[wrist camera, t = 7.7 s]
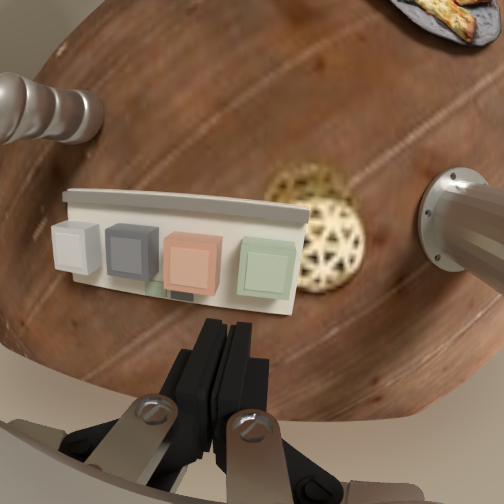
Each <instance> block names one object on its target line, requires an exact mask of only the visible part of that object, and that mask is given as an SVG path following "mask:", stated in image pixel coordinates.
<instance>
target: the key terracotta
mask: <svg viewBox="0 0 504 504" xmlns="http://www.w3.org/2000/svg"><path fill="white" fill-rule="evenodd" d="M222 241H223V236H216V235H206V234H197V233H188V232H178V231H173V232H172V233H170V234H169V235H168V236H166V237H165V238H164V239H163V282H164V289H168V290H174V291H181V292H187V293H194V294H201V295H208V296H215V293H216V291H217V289H218V286H219V284H220V270H221V255H222Z"/></svg>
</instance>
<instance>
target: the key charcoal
mask: <svg viewBox="0 0 504 504" xmlns="http://www.w3.org/2000/svg"><path fill="white" fill-rule="evenodd" d="M105 247H106V264H107V275H110V276H116V277H122V278H127V279H133V280H139V281H146V282H149V281H150V280H151V279H152V278H153V277H154V276H155V275H156V274H157V273H158V272H159V227H154V226H144V225H134V224H124V223H117V224H115V225H113V226H111V227H108V228H106V229H105Z"/></svg>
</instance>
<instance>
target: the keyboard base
mask: <svg viewBox="0 0 504 504" xmlns="http://www.w3.org/2000/svg"><path fill="white" fill-rule="evenodd" d="M63 202H68V221H78V222H89V223H99V229H100V251H101V265H102V266H101V267H100V268H98V269H97V270H95V271H94V272H92V273H91V274H90V275H88V276H87V275H82V274H77V273H73V281H75V282H80V283H85V284H89V285H94V286H99V287H104V288H109V289H114V290H119V291H125V292H130V293H136V294H141V295H147V296H153V297H158V298H164V299H171V300H177V301H183V302H190V303H196V304H203V305H210V306H218V307H225V308H233V309H241V310H249V311H257V312H266V313H275V314H285V315H292V309H293V304H294V298H295V292H296V287H297V281H298V275H299V269H300V262H301V256H302V250H303V243H304V236H305V230H306V223H307V224H308V219H309V212H310V211H309V210H308V207H307V206H301V205H293V204H285V203H276V202H268V201H259V200H249V199H240V198H230V197H219V196H208V195H196V194H183V193H169V192H154V191H136V190H115V189H86V188H71V189H68V191H64V192H63ZM117 223H124V224H134V225H144V226H154V227H159V272H158V273H157V274H156V275H155V276H154V277H153V278H152V279H151V280H150V281H149V282H146V281H139V280H133V279H127V278H122V277H116V276H110V275H107V264H106V247H105V229H106V228H108V227H111V226H113V225H115V224H117ZM173 231H178V232H188V233H197V234H206V235H216V236H223V241H222V255H221V270H220V284H219V286H218V289H217V291H216V293H215V296H208V295H201V294H194V293H187V292H181V291H174V290H168V289H164V282H163V239H164V238H165V237H166V236H168V235H169V234H170V233H172V232H173ZM244 236H248V237H257V238H266V239H274V240H283V241H291V242H295V246H296V250H297V252H296V258H295V265H294V271H293V278H292V284H291V290H290V296H289V300H280V299H271V298H263V297H254V296H246V295H237V286H238V275H239V263H240V253H241V244H242V241H243V238H244Z"/></svg>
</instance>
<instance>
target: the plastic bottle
mask: <svg viewBox="0 0 504 504" xmlns="http://www.w3.org/2000/svg"><path fill="white" fill-rule="evenodd" d="M103 120H104V107H103V104H102V102H101V100H100V99H99V98H98V97H97V96H96V95H94V94H93V93H91V92H89V91H86V90H66V89H57V88H52V87H48V86H45V85H42V84H38V83H35V82H33V81H31V80H29V79H26V78H24V77H22V76H20V75H17V74H14V73H11V72H5V73H0V145H3V144H7V143H11V142H15V141H20V140H29V139H47V140H54V141H58V142H61V143H64V144H68V145H76V144H81V143H85V142H87V141H89V140H90V139H92V138H93V137H94V136H95V135H96V134H97V132H98V131H99V130H100V128H101V126H102V123H103Z"/></svg>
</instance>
